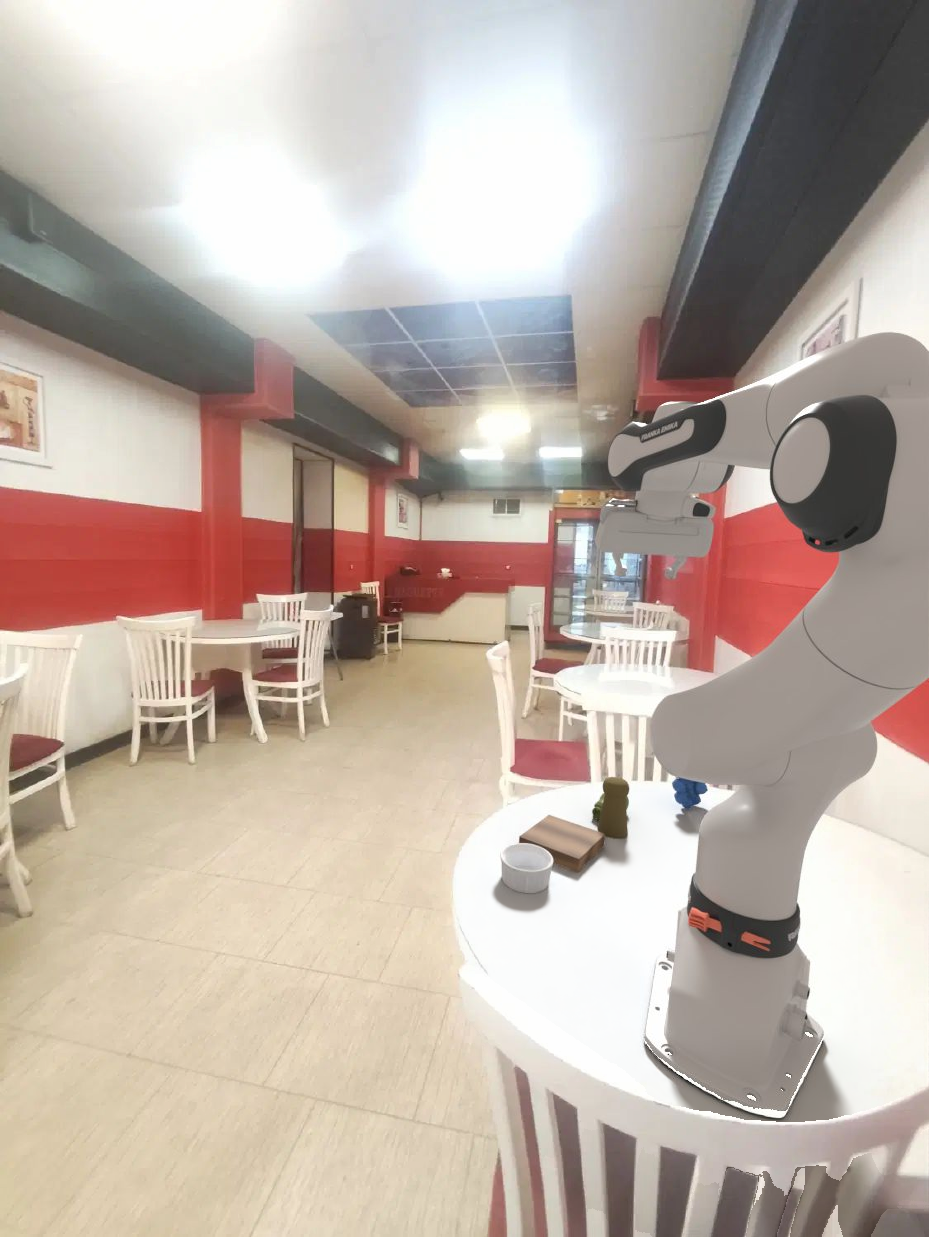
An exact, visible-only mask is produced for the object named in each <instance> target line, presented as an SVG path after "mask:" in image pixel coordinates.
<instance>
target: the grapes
mask: <svg viewBox="0 0 929 1237" xmlns="http://www.w3.org/2000/svg"><path fill="white" fill-rule="evenodd" d="M707 786H708V785H707V783H702V782H697V781H692V780H688V779H684V778H680V777H677V778H676V779H674V780H673V781H672V782H671V787H672V788H673V790H674V791H675V793H674V796H673V797H674V799H675V802H676V803H677V804H679V805H681V806H682V808H684V809H685V810H690V809H691V808H692V809H693V807H694V806H697V805H699V804H700V803H701V802H702V799H701V796H700V795H704V794H706V793H707V792H708V787H707Z"/></svg>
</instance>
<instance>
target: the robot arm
mask: <svg viewBox="0 0 929 1237" xmlns="http://www.w3.org/2000/svg"><path fill="white" fill-rule="evenodd" d="M606 462H607V472H608V474H609V476H610V478H611V480H612V481H613V483H615V484H616V485H617V487H618V488H619V489H620V490H622V491H623V492H635V496H634V499H618V498H612V499H610V500H609V501H606V502H604V503H603V504H602V506H601V507H600V513H599V524H598V527H597V531H596V534H595V539H594V544H595V546H596V547H597V549H598V550H599V551H601V552H602V553H608V554H609V553H610V554H611V556H612V559H613V561H614V563H615V569H614V570H615V572H614V574H615V576H616V577H626V576H627V573H626V572H628V571H627V570H628V567H627V566H626V565H625V564H623V563H622V561H621V560H622V559H624V557H625V554H629V555H630V554H632V555H646V556H647V555H651V556H667V557H668V556H670V557H671V556H672V557H674V558H673V559H675V560H674V562H673V563H672V564H671V565H670V566H669V567H668V566H665V570H664V571H665V572H664V574H663V575H664V578H665V579H667V580H668V579H671V580H675V579H676V578H677V573H678V571H679V570H680V569H681V568H682V567H683V566H684V565H685V563H687V560H688V559H687V558H689V557H690V558H691V557H692V558H704V557H705V556H707V554H709V552H710V550H711V545H712V542H713V537H714V529H715V528H714V527H715V526H714V523H713V520H712V519H713V517H715V515H716V514H715V513H716V510H717V508H716V506H714V505H713V504H711V503H709V502H708V501H705V500H703V499H701V498H699V497H698V496H696V495H693V494H703V495H704V494H709V493H711V494H713V493H715V492H717V491H718V490H720V489H722V487H723V486H725V485H726V483H727V482H728V481H729V480H730V478H731V477H732V475H733V473H734V469H735V466H736V467H744V468H750V469H751V468H753V469H759V470H760V469H761V470H768V471H769V483H770V484H769V485H770V490H771V492H772V495H773V497H774V499H775V501H776V502H777V505H778V506H779V508H780V509H781V512H782V513H783V514H784V516H785V517H786V519H787V520H788V522H790V524H793V526H795V527H796V528H798V529H799V530H800V531H801V532H802V536H803V539H804V541H805V543H806V545H808V546H810V547H811V548H812V549H814V550H816V551H819V552H822V553H832V554H833V553H838V554H839V555H838V563H837V566H836V568H835V570H834V571H833V574H832V575H831V576H830V577H829V579H828V580H827V581H826V583H825V584H824V585H823V586H822V587H821V588H820V589H819V590H818V592H816V594H814V596H813V597H812V598H811V599H810V600H809V601H808V602H807V604H805V606H803V608H802V609H801V610H800V611H799V612H798V613H797V615H796V616H795V617H794V618H793V619H792V621H790V622H789V624H788V625H787V626H786V627H785V628H784V629H783V630H782V631H781V632H780V633H779V635H777V637H775V639H774V640H773V641H772V642H771V643H770V644H768V646H767V647H765V648H764V649H763V650H762V651H760V652H759V653H757V654H756V655H754V656H753V657H751V658H750V659H748V660H747V661H745V662H744V663H741V664H740V665H738V666H736V667H734V668H732V669H731V670H728V671H727V672H726V673H723V674H721V675H719V676H718V677H716V678H714V679H712V680H709V681H707V682H706V683H703V684H701V685H699V686H695V687H692V688H689V689H687V690H684V691H679V692H675V693H673V694H669V695H666V696H665V697H664V698H662V700H660V702H659V703H658V705H657V706H656V708H655V709H654V711H653V713H652V715H651V718H650V723H649V731H648V733H649V736H648V737H649V743H650V746H651V750H652V752H653V754H654V756H655V758H656V760H657V762H658V763H659V764H660V765H661V768H662V769H663V770H664V771H666V772H667V773H668V774H669V775H671V776H673V777H676V778H678V777H680V778H684V779H688V780H692V781H697V782H702V783H705V784H706V785H708V784H709V785H713V786H714V785H716V786H718V785H719V786H720V785H721V786H738V788H737V789H736V790H735V792H733V794H731V795H730V796H729V797H728V798H727V799H726V800H725V799H724V801H722V802H720V803H718V804H716V805H715V806H713V807H712V808H711V809H710V810H709V811H707V812H706V813H705V814H704V816H703V817H702V820H701V823H700V825H699V828H698V829H699V831H698V840H697V852H696V864H695V872H693V874H692V876H691V880H690V884H689V886H688V887H689V888H688V891H687V892H688V893H687V905H686V906H684V907H682V908H680V909H678V911H677V920H676V922H677V923H676V934H675V947H674V949H672V948H668V950H666V954H661V955H658V956H656V959H655V960H656V961H655V965H654V971H653V976H652V977H653V978H652V983H651V991H650V996H649V1001H650V1002H649V1003H648V1007H649V1008H648V1009H647V1014H646V1020H647V1021H646V1020H645V1026H646V1027H645V1028H644V1033H645V1034H643V1039H644V1038H645V1041H646V1042H647V1044H648V1045H649V1046H650V1048H651V1049H652V1051H653V1053H655V1054H656V1055H657V1056H658V1057H659V1058H661V1059H663V1060H664V1061H665V1062H667V1063H668V1064H669V1065H670V1066H672V1067H673V1068H674V1069H675V1070H676V1071H679V1072H680V1073H682V1074H685V1075H686V1076H687V1077H688V1078H691V1079H692V1080H693V1081H694V1082H697V1083H698V1084H700V1085H701V1086H702V1087H705V1088H706V1090H709V1091H711V1092H714V1093H715V1094H717V1095H718V1096H720V1097H721V1099H722V1098H723V1100H728V1101H735V1102H738V1103H740V1104H742V1105H743V1106H748V1107H753V1109H755V1108H758V1109H759V1108H761V1109H771V1110H772V1109H773V1110H777V1111H786V1110H787V1109H788V1107H789V1104H790V1101H791V1098H792V1096H793V1095H794V1092H795V1091H796V1089H797V1086H798V1083H799V1082H800V1079H801V1078H802V1075H803V1073H804V1072H805V1070H806V1068H807V1066H808V1064H809V1062H810V1060H811V1058H812V1056H813V1055H814V1053H815V1051H816V1049H817V1047H818V1045H819V1044H820V1042H821V1040H822V1038H823V1036H825V1032H824V1029H823V1027H822V1026H821V1025H820V1023H819V1022H817V1021H816V1019H814V1018H813V1017H812V1016H811V1015H810V1014H808V1012H807V1007H808V1006H807V1004H808V999H809V996H810V994H811V993H810V991H811V988H810V986H809V982H810V972H811V971H810V969H811V961H810V959H809V958H808V957H807V955H806V954H805V953H804V951H803V950H802V949H801V947H800V945H799V944H798V939H799V933H800V931H801V930H800V929H801V908H800V906H799V903H798V898H799V897H798V895H799V889H800V888H799V887H800V882H801V874H802V870H803V864H804V858H805V852H806V849H807V846H808V843H809V841H810V838H811V836H812V833H813V831H814V830H815V827H816V826H817V824H818V823H819V821H820V819H822V816H823V815H824V813H825V812H826V810H827V809H828V808H829V807H830V805H831V804H832V802H833V801H834V800H835V799H836V798H837V797H838V796H839V795H840V794H841V793H842V792H844V790H845V789H846V788H848V787H850V785H852V784H853V783H856V781H859V780H860V779H861V778H863V777H865V776H866V775H867V774H869V772H870V771H871V769H872V767H874V763H875V761H876V759H877V753H878V739H877V733H876V731H875V728H874V726H873V724H872V721H873V720H875V719H876V718H878V717H879V716H880V715H881V714H883V713H884V712H886V711H887V710H888V709H889V708H891V707H893V706H894V705H895V704H896V703H898V702H899V701H901V700H902V699H903V698H904V697H906V696H907V695H909V694H910V693H911V692H912V691H914V690H915V689H916V688H918V687H919V686H920V685H922V684H923V683H925V682H926V681H927V680H928V679H929V350H928V349H927V347H926V346H925V345H924V344H923V343H922V342H921V341H919V340H917V339H916V338H914V337H912V336H910V335H907V334H905V333H901V332H893V331H887V332H878V333H872V334H869V335H865V336H862V337H858V338H853V339H851V340H848V341H845V342H841V343H839V344H835V345H833V346H831V347H828V348H826V349H823V350H821V351H819V352H817V353H814V354H812V355H810V356H808V357H806V358H803V359H802V360H799V361H798V362H796V363H794V364H792V365H791V366H789V367H786V368H785V369H782V370H780V371H778V372H776V373H774V374H772V375H770V376H768V377H765V378H762V379H761V380H759V381H756V382H754V383H752V384H749V385H747V386H744V387H741V388H739V389H736V390H734V391H731V392H728V393H725V394H722V395H719V396H716V397H715V398H712V399H708V400H705V401H704V402H700V403H699V402H695V401H669V402H665V403H663V404H660V405H659V406H658V407H657V409H656V411H655V413H654V416H653V418H652V421H651V422H650V423H648V424H646V422H645V423H644V422H635V421H632V422H630V423H629V424H627V425H625V426H624V428H622V429H621V430H619V431H618V433H617V434H615V436H614V438H613V439H612V441H611V444H610V446H609V450H608V454H607V459H606ZM816 541H818V542H819V544H817V543H816ZM805 1032H809V1033H810V1034H812V1035H813V1037H809V1036H807V1035H806V1034H805ZM644 1035H645V1036H644ZM665 1052H670V1053H671V1054H672V1055H668V1054H666V1053H665ZM653 1053H652V1054H653ZM786 1074H789V1075H791V1078H790V1077H788V1076H786ZM781 1089H782V1090H783V1091H782V1090H781ZM747 1095H752V1096H754V1097H755V1098H756V1101H752V1100H750V1099H749V1098H748V1097H747Z"/></svg>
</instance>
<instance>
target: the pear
mask: <svg viewBox="0 0 929 1237" xmlns="http://www.w3.org/2000/svg"><path fill="white" fill-rule="evenodd" d="M604 796H605V793H604V792H602V794H601V795H600V796H599V799H598V801H596V802H595V803H594V806H593V807H594V808H592V810H591V814H592V817H593V818H594V819H596V820H598V821H599V819H600V814H601V810H602V805H603V800H604ZM629 806H630V800H629V797H628V795H627V796H626V811H627V810H628V808H629Z"/></svg>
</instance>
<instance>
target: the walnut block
mask: <svg viewBox="0 0 929 1237" xmlns="http://www.w3.org/2000/svg"><path fill="white" fill-rule="evenodd" d="M518 838H519V839H518V843H528V844H533V845H537V846H539V847H542V848H544V849H545V850H547V851H548V852H549V853H550V854H551V855H552V857H553V864H555V865H558V866H560V867H563V868H565V869H568V870H571V871H573V872H575V873H579V872H580V871H581V870H582V869H583V868H584V867H585V866H586V865H587V864H589V862H591V860H592V859H593V858H594V857H595V856H597V854H598V853H599V852H600V851H601V850H602V849H603V848H604V847H605V841H606V836H605V834H604V833H601V832H598V830H595V829H592V828H589V827H586V826H583V825H580V824H577V823H574V822H571V821H569V820H565V819H563V818H560V817H557V816H554V815H551V814H548V815H547V816H545V817H544V818H542V819H541V820H540V821H538V822H537V823H535V825H533V826H531V827H530V828H529V829H528V830H526V831H524V832H523V833H522V834H520V835H519V837H518Z"/></svg>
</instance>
